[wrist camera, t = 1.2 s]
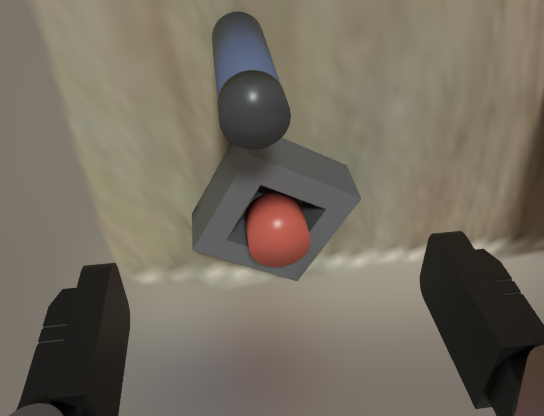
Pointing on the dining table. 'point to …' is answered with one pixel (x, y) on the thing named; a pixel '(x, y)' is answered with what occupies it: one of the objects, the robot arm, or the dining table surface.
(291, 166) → the button console
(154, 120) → the dining table surface
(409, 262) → the dining table surface
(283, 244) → the button
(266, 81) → the marker
